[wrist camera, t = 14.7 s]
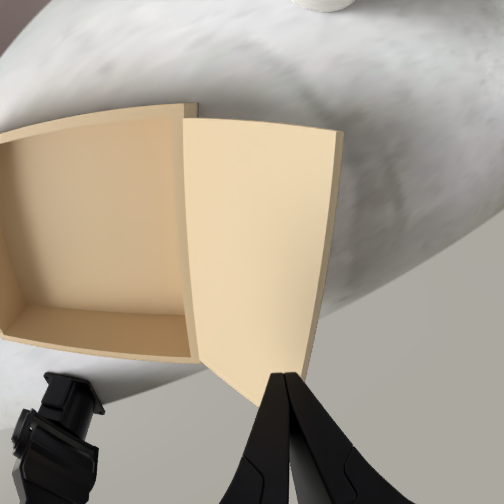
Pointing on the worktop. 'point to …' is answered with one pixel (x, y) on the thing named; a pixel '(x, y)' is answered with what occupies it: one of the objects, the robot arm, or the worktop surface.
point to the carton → (98, 235)
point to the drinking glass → (324, 4)
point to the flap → (258, 243)
